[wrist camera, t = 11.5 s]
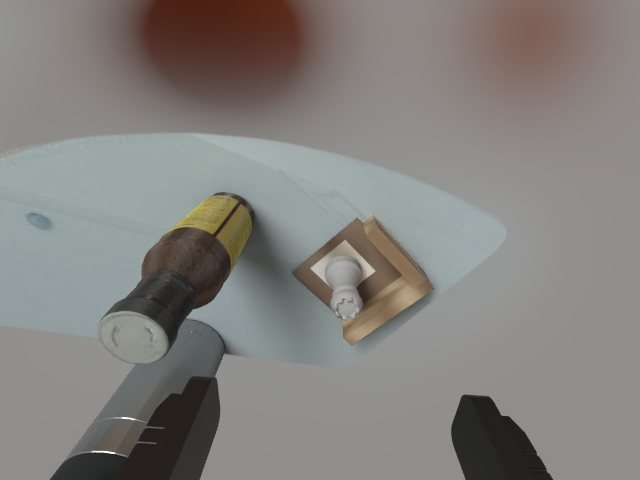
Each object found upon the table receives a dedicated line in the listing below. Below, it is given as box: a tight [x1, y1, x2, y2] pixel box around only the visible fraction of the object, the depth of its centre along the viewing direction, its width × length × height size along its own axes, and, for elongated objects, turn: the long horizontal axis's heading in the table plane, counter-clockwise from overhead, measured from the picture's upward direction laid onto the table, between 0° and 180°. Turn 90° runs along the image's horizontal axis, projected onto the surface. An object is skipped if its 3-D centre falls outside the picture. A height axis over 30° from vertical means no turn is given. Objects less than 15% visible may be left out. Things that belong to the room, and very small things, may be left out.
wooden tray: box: [292, 216, 434, 345], centre depth 36 cm, size 12×11×4 cm
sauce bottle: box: [97, 192, 254, 365], centre depth 26 cm, size 6×6×20 cm
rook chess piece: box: [325, 255, 363, 321], centre depth 33 cm, size 4×4×8 cm
